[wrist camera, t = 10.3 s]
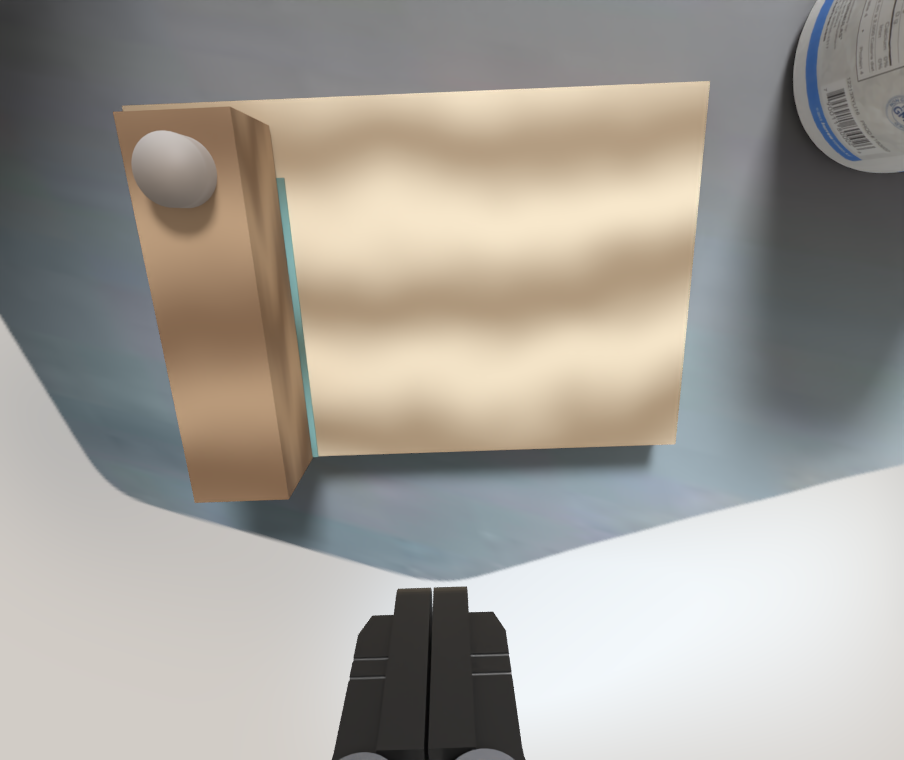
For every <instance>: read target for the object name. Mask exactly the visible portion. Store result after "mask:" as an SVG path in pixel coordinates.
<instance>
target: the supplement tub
mask: <svg viewBox="0 0 904 760" xmlns="http://www.w3.org/2000/svg"><path fill="white" fill-rule="evenodd" d="M793 90H794V98H795V104H796V108H797V112H798V115H799V118H800V120H801V123H802V125H803V127H804V129H805V131H806V132H807V134H808V135H809V137H810V138H811V140H812V141H813V142H814V143H815V145H816V146H817V147H818V148H819V149H820V150H821V151H822V152H824V153H825V154H826V155H827V156H828V157H830V158H831V159H833V160H834V161H836V162H838V163H840V164H842V165H844V166H846V167H849V168H852V169H856V170H859V171H864V172H871V173H895V172H904V0H817V1H816V3H815V5H814V7H813V8H812V10H811V12H810V14H809V16H808V18H807V21H806V23H805V25H804V28H803V30H802V33H801V36H800V39H799V43H798V47H797V50H796V56H795V62H794V72H793Z"/></svg>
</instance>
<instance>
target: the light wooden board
mask: <svg viewBox="0 0 904 760" xmlns="http://www.w3.org/2000/svg"><path fill="white" fill-rule="evenodd" d="M709 87H710V81H702V82H678V83H654V84H630V85H607V86H583V87H559V88H535V89H511V90H487V91H463V92H440V93H416V94H392V95H368V96H344V97H320V98H296V99H273V100H249V101H225V102H201V103H177V104H153V105H129V106H122V108H123V111H142V110H164V109H185V108H206V107H228V106H230V107H232V108H234V109H236V110H238V111H240V112H242V113H244V114H246V115H249V116H251V117H253V118H255V119H257V120H259V121H261V122H263V123H265V124H267V125H269V129H270V137H271V144H272V152H273V159H274V167H275V175H276V182H277V190H278V197H279V205H280V213H281V220H282V228H283V235H284V243H285V251H286V258H287V266H288V273H289V281H290V289H291V296H292V304H293V311H294V319H295V327H296V334H297V342H298V349H299V357H300V365H301V372H302V380H303V387H304V395H305V403H306V410H307V418H308V425H309V433H310V441H311V448H312V456H313V457H318V456H338V455H368V454H398V453H428V452H458V451H488V450H518V449H547V448H577V447H607V446H637V445H667V444H675V442H676V432H677V421H678V411H679V400H680V390H681V380H682V369H683V359H684V348H685V338H686V327H687V317H688V306H689V296H690V286H691V275H692V265H693V254H694V244H695V233H696V223H697V212H698V202H699V192H700V181H701V171H702V160H703V150H704V139H705V129H706V118H707V108H708V98H709Z"/></svg>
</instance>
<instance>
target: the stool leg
mask: <svg viewBox="0 0 904 760" xmlns="http://www.w3.org/2000/svg"><path fill="white" fill-rule="evenodd" d="M113 115H114V119H115V124H116V129H117V134H118V138H119V143H120V148H121V153H122V157H123V162H124V167H125V172H126V176H127V181H128V186H129V191H130V196H131V200H132V205H133V210H134V215H135V219H136V224H137V229H138V234H139V238H140V243H141V248H142V253H143V257H144V262H145V267H146V272H147V277H148V281H149V286H150V291H151V296H152V300H153V305H154V310H155V315H156V319H157V324H158V329H159V334H160V338H161V343H162V348H163V353H164V358H165V362H166V367H167V372H168V377H169V381H170V386H171V391H172V396H173V400H174V405H175V410H176V415H177V419H178V424H179V429H180V434H181V439H182V443H183V448H184V453H185V458H186V462H187V467H188V472H189V477H190V481H191V486H192V491H193V496H194V500H195V503H202V502H229V501H256V500H284V499H289V498H290V497H291V495H292V493H293V491H294V490H295V488H296V486H297V484H298V483H299V481H300V479H301V477H302V476H303V474H304V472H305V471H306V469H307V467H308V465H309V464H310V462H311V460H312V458H313V456H312V448H311V441H310V433H309V425H308V418H307V410H306V403H305V395H304V387H303V380H302V372H301V365H300V357H299V349H298V342H297V334H296V327H295V319H294V311H293V304H292V296H291V289H290V281H289V273H288V266H287V258H286V251H285V243H284V235H283V228H282V220H281V213H280V205H279V197H278V190H277V182H276V175H275V167H274V159H273V152H272V144H271V137H270V129H269V125H267V124H265V123H263V122H261V121H259V120H257V119H255V118H253V117H251V116H249V115H246V114H244V113H242V112H240V111H238V110H236V109H234V108H232V107H230V106H228V107H206V108H185V109H164V110H142V111H121V112H113Z"/></svg>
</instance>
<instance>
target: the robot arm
mask: <svg viewBox="0 0 904 760" xmlns="http://www.w3.org/2000/svg"><path fill="white" fill-rule="evenodd" d="M433 595H434V596H433V607H432V591H431V588H411V589H398V590H397V595H396V601H395V609H394V615H380V616H372V617H371V618H370V620H369V621H368V622H367V624H366V625H365V626H364V628H363V629H362V631H361V632H360V633H359V635H358V639H357V644H356V649H355V654H354V661H353V663H352V668H351V672H350V681H349V682H348V687H347V692H346V697H345V701H344V706H343V711H342V716H341V721H340V725H339V731H338V735H337V740H336V745H335V750H334V754H333V758H332V760H525V757H524V754H523V749H522V744H521V736H520V729H519V722H518V715H517V708H516V701H515V694H514V687H513V679H512V675H511V666H510V658H509V651H508V645H507V637H506V630H505V629H504V627H503V626H502V624H501V623H500V621H499V620H498V618H497V617H496V616H495V614H494V613H493V612H469V611H468V593H467V587H439V588H438V587H437V588H434V594H433Z"/></svg>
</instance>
